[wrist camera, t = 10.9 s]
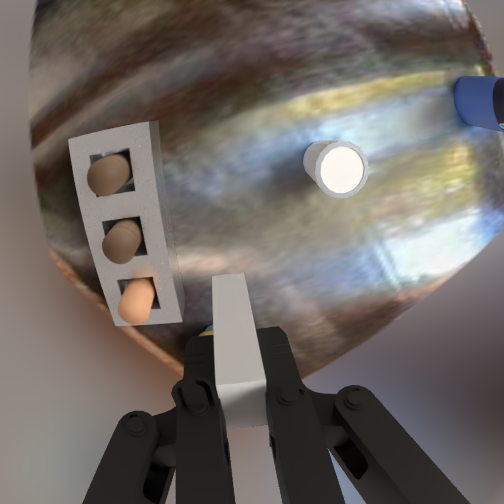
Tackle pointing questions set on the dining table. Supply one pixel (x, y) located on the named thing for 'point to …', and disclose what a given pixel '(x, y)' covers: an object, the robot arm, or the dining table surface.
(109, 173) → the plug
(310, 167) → the white cup
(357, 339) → the dining table surface
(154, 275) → the jig
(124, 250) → the plug mid
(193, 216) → the dining table surface
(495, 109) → the water bottle
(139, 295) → the plug terracotta
